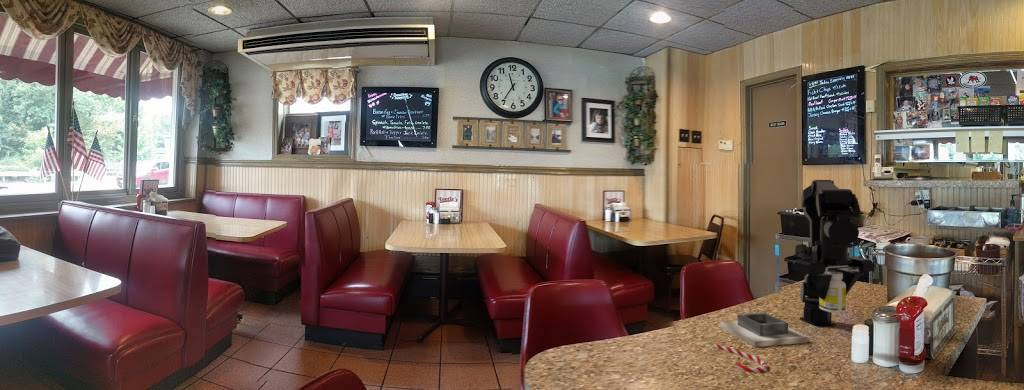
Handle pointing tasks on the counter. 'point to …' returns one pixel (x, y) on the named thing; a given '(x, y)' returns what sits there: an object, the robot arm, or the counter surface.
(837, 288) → the supplement bottle
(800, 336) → the holder board
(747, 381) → the counter surface
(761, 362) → the candy cane
